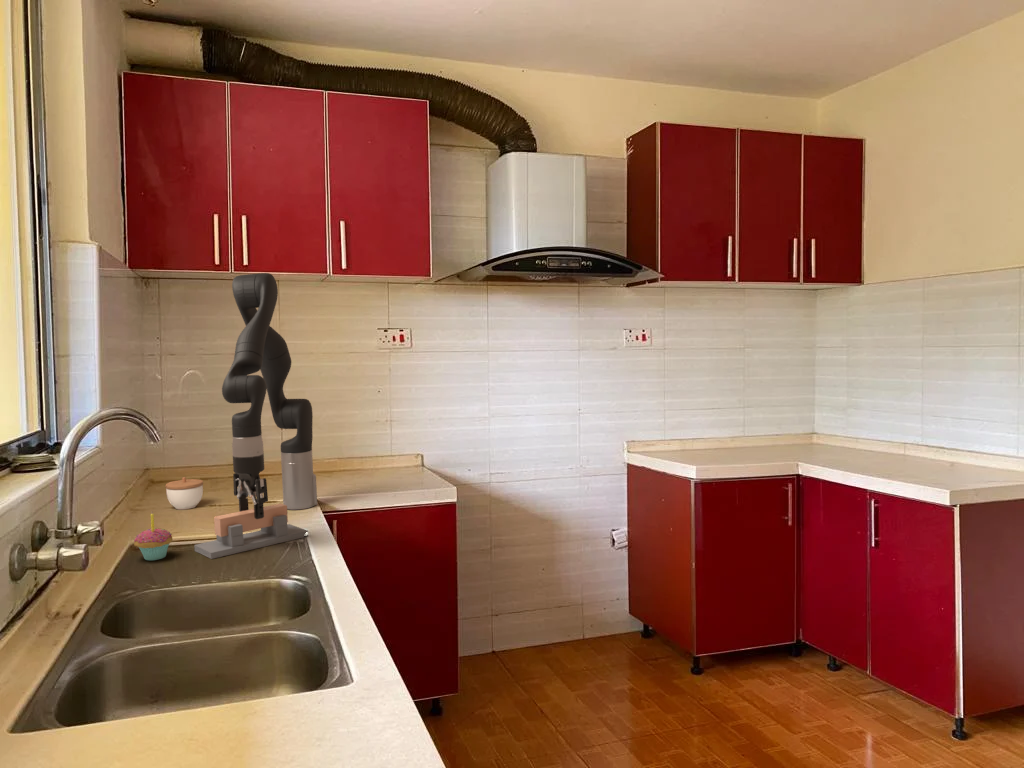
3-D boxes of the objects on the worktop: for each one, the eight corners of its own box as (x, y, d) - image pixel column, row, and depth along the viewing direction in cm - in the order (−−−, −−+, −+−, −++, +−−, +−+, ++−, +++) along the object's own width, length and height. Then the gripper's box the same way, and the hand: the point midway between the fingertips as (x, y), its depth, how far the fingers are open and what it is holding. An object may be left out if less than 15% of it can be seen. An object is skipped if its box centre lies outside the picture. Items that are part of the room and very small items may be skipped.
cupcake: (175, 559, 188) (172, 510, 187) (136, 565, 184) (133, 515, 183) (171, 550, 196) (168, 503, 195) (134, 556, 192) (130, 508, 191)
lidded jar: (210, 506, 242) (208, 476, 241) (175, 513, 234) (173, 482, 233) (195, 501, 249) (194, 472, 249) (161, 507, 242) (159, 477, 241)
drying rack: (289, 529, 213) (288, 506, 212) (308, 536, 206) (307, 512, 205) (194, 550, 195) (193, 525, 194) (211, 559, 188) (209, 532, 187)
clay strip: (281, 520, 207) (280, 503, 207) (287, 522, 205) (286, 505, 204) (215, 534, 195) (213, 516, 195) (220, 536, 192) (219, 519, 192)
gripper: (275, 454, 196) (278, 517, 197) (249, 448, 206) (252, 508, 207) (246, 458, 191) (250, 523, 192) (221, 452, 201) (225, 513, 202)
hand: (251, 515), depth 200 cm, fingers open, 8 cm apart
